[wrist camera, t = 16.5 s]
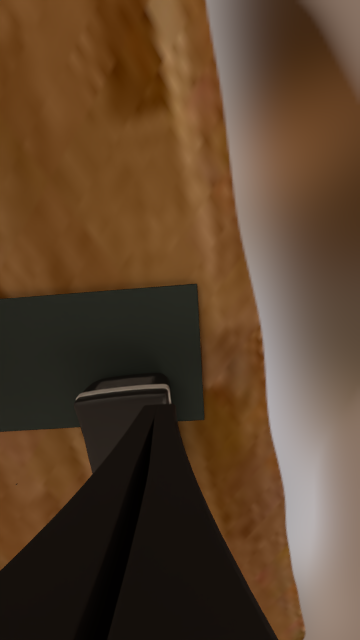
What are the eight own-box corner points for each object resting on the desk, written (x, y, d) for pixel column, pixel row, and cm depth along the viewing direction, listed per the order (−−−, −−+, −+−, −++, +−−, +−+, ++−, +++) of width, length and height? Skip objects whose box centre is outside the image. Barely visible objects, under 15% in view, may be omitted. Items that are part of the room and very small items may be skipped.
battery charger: (92, 372, 16) (118, 473, 19) (66, 401, 13) (103, 522, 15) (172, 363, 16) (187, 467, 19) (169, 390, 12) (189, 515, 15)
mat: (-8, 428, 18) (-13, 432, 17) (-55, 303, 15) (-63, 304, 14) (203, 415, 17) (204, 420, 17) (196, 283, 14) (197, 284, 14)
